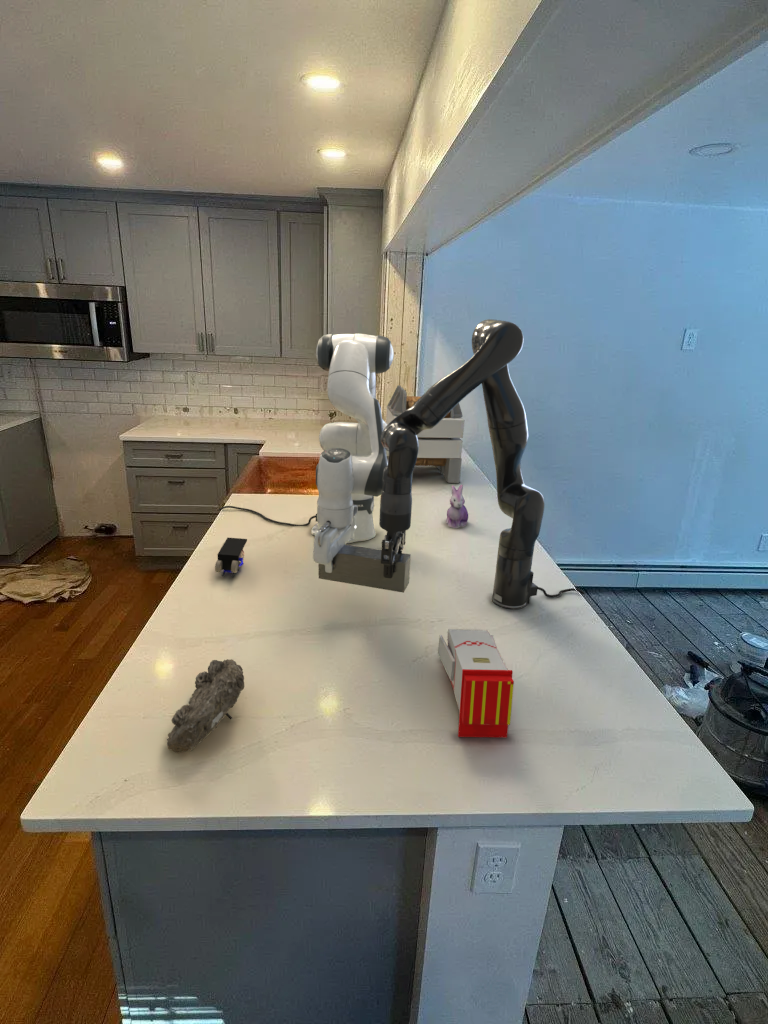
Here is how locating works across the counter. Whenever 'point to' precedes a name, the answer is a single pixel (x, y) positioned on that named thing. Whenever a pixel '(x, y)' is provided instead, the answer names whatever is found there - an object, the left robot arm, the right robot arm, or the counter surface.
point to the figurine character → (230, 556)
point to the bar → (367, 569)
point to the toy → (478, 682)
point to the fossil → (206, 705)
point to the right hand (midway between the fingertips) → (392, 570)
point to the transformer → (434, 437)
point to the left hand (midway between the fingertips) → (334, 565)
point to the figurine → (457, 509)
